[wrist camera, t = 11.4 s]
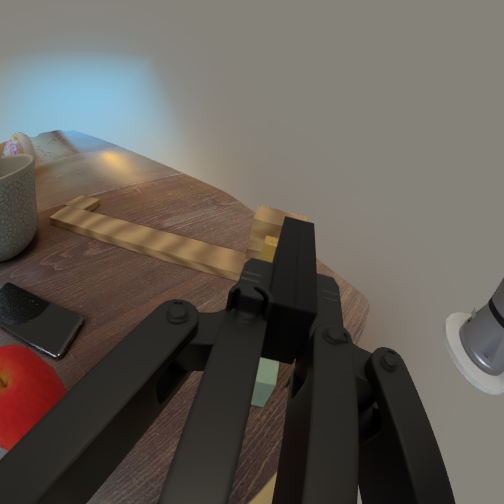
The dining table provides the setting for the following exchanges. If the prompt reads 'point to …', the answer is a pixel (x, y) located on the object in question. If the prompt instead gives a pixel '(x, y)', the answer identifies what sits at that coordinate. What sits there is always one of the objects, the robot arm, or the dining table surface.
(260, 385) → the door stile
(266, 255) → the bolt
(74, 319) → the smartphone
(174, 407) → the dining table surface
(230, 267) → the wooden beam with block
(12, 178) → the planter
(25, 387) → the apple
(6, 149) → the decorative egg
